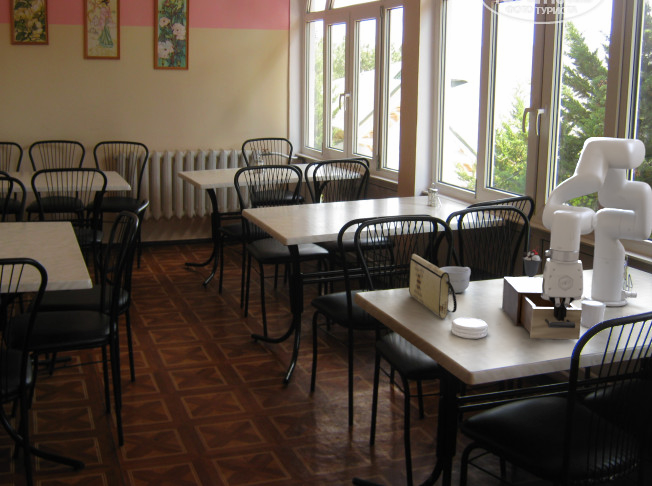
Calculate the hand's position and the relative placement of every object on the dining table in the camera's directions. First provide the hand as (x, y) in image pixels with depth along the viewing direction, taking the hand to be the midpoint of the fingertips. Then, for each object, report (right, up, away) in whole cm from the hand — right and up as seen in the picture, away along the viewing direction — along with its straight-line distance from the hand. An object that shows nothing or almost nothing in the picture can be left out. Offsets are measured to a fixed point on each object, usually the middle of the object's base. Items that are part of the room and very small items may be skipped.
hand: (559, 319), depth 205 cm
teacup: (-16, +2, +55) cm, 57 cm away
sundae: (+12, +3, +62) cm, 63 cm away
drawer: (0, -5, +8) cm, 10 cm away
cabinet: (+1, -3, +25) cm, 25 cm away
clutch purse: (-28, -1, +35) cm, 45 cm away
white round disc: (-23, -6, +9) cm, 25 cm away
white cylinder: (+17, -5, +18) cm, 25 cm away
